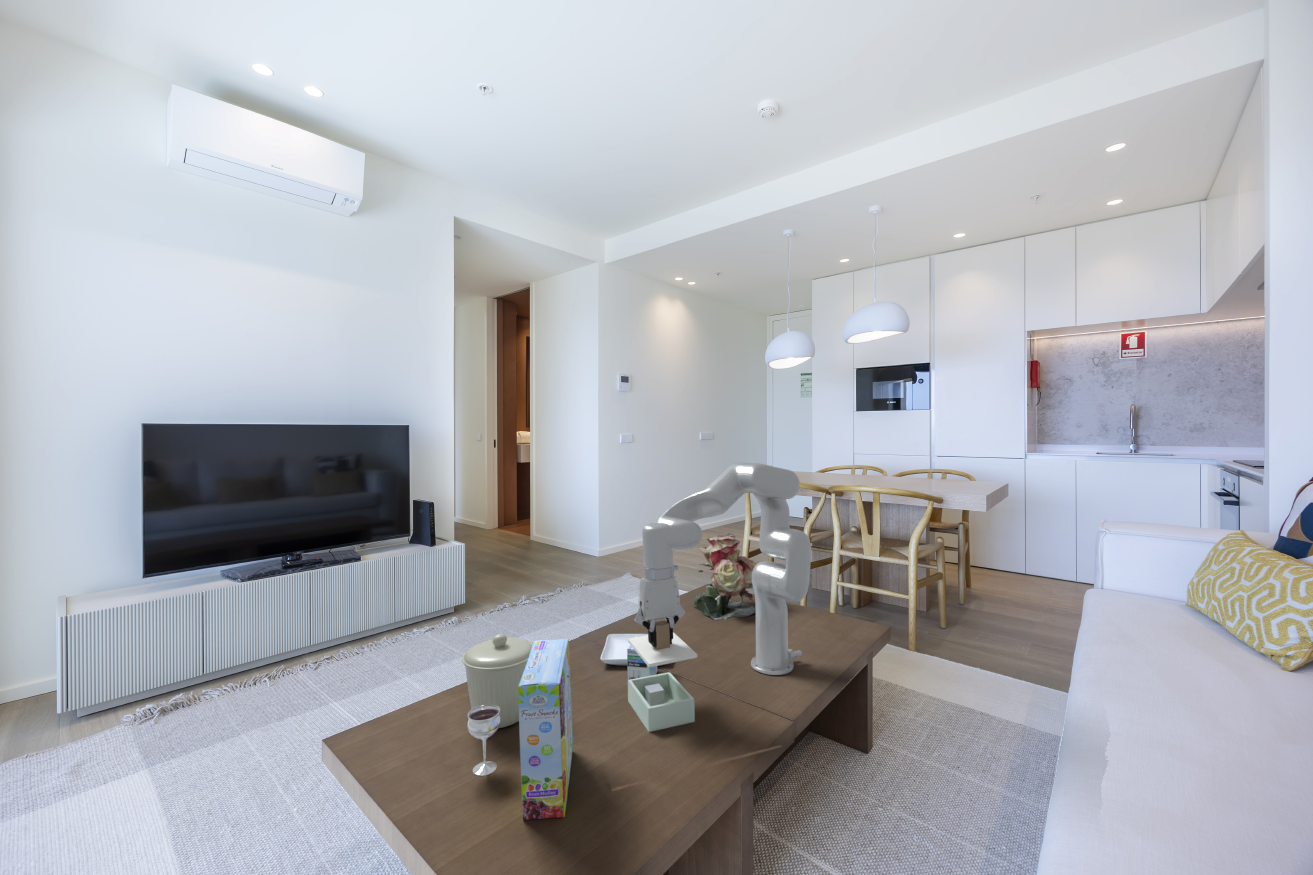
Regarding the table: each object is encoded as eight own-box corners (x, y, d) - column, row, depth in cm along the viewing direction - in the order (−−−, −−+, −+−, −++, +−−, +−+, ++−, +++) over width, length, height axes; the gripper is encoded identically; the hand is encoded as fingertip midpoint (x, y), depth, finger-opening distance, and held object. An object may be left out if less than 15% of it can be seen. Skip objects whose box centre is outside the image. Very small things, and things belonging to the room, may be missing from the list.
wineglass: (462, 777, 112) (461, 720, 112) (475, 758, 119) (474, 704, 119) (494, 778, 112) (493, 721, 112) (505, 758, 119) (504, 704, 118)
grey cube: (658, 698, 144) (658, 683, 143) (664, 705, 140) (664, 689, 140) (644, 700, 142) (644, 685, 142) (650, 708, 138) (649, 692, 138)
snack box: (534, 752, 121) (533, 638, 120) (574, 750, 121) (572, 636, 121) (518, 822, 99) (515, 683, 99) (566, 819, 100) (563, 681, 100)
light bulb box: (650, 689, 150) (649, 650, 150) (626, 687, 151) (626, 648, 151) (657, 672, 160) (657, 636, 160) (635, 670, 162) (635, 634, 161)
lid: (627, 641, 143) (626, 616, 143) (671, 633, 147) (670, 608, 147) (649, 667, 127) (648, 638, 127) (697, 657, 132) (696, 629, 132)
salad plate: (670, 642, 183) (669, 632, 183) (669, 670, 162) (669, 658, 162) (608, 642, 184) (607, 632, 184) (599, 670, 163) (599, 659, 163)
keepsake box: (628, 702, 143) (627, 679, 142) (670, 693, 147) (669, 671, 147) (648, 733, 128) (648, 708, 128) (694, 723, 132) (694, 698, 132)
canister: (551, 705, 141) (549, 625, 141) (510, 743, 124) (509, 652, 124) (492, 695, 147) (491, 618, 147) (446, 730, 130) (445, 643, 130)
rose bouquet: (717, 624, 199) (716, 543, 198) (685, 601, 226) (684, 530, 225) (776, 615, 208) (776, 537, 208) (738, 594, 235) (737, 525, 235)
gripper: (682, 564, 143) (684, 633, 144) (623, 572, 137) (625, 644, 138) (694, 571, 136) (696, 643, 137) (632, 580, 130) (634, 655, 131)
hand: (660, 642), depth 137 cm, fingers closed on lid, 3 cm apart
